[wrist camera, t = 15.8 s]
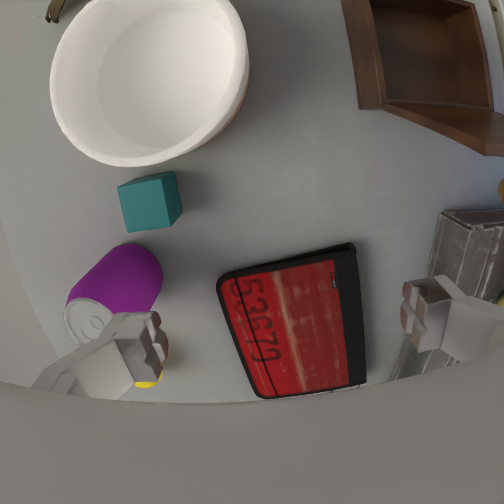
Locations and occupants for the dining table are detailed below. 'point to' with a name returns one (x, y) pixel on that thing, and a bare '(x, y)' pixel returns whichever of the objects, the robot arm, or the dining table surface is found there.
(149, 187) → the cube
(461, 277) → the grey boxy piece
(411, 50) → the chest
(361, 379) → the notebook
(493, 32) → the dining table surface
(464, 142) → the chest lid
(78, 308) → the beverage can
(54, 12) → the fish
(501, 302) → the toy
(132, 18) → the bowl
